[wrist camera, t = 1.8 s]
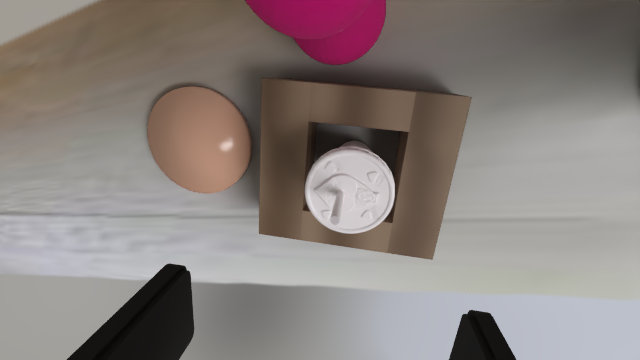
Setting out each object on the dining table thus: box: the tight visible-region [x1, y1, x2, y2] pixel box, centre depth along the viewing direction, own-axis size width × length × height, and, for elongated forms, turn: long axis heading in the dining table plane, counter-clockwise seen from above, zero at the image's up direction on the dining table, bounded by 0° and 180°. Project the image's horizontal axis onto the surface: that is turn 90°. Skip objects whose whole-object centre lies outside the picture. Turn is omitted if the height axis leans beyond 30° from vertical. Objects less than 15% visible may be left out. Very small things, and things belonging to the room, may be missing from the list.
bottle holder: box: [259, 78, 472, 260], centre depth 28 cm, size 16×14×5 cm
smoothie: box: [305, 141, 395, 234], centre depth 24 cm, size 6×6×14 cm
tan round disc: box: [147, 87, 253, 193], centre depth 31 cm, size 11×11×1 cm
